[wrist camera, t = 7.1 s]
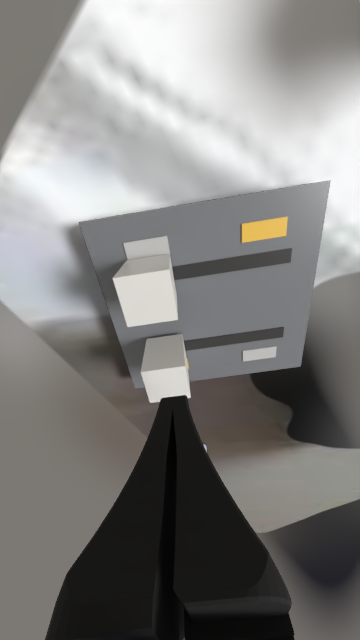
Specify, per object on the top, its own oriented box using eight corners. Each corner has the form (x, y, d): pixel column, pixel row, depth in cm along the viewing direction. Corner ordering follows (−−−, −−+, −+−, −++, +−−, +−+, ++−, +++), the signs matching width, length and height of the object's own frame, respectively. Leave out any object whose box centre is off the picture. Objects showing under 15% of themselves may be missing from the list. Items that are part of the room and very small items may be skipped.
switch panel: (290, 353, 22) (301, 367, 20) (138, 374, 23) (135, 389, 21) (311, 183, 15) (331, 180, 13) (88, 220, 16) (77, 222, 14)
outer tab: (176, 294, 16) (178, 319, 12) (137, 300, 16) (127, 327, 13) (169, 253, 15) (169, 269, 11) (126, 260, 15) (112, 278, 11)
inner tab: (187, 361, 19) (190, 397, 16) (154, 366, 19) (150, 402, 16) (182, 333, 18) (185, 366, 14) (146, 338, 18) (140, 372, 14)
